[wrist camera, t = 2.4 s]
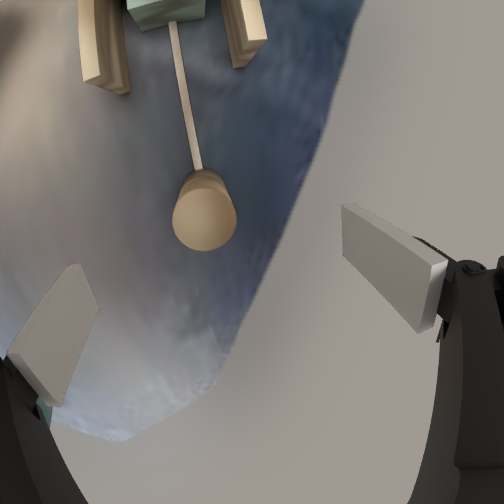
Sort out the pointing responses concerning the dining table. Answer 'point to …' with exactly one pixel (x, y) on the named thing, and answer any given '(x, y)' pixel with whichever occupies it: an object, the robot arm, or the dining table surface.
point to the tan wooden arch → (113, 45)
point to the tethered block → (190, 140)
